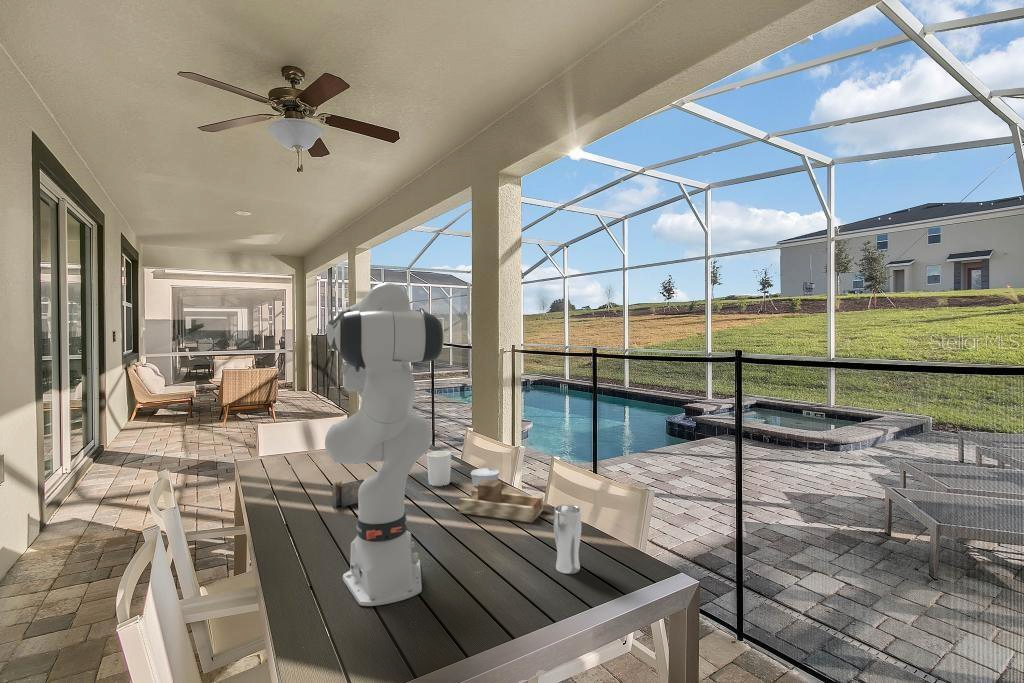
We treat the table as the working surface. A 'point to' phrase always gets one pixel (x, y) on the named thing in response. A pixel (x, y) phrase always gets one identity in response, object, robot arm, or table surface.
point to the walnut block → (490, 491)
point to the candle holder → (439, 467)
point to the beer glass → (567, 537)
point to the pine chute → (504, 506)
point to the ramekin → (484, 475)
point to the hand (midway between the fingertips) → (381, 400)
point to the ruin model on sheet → (345, 493)
